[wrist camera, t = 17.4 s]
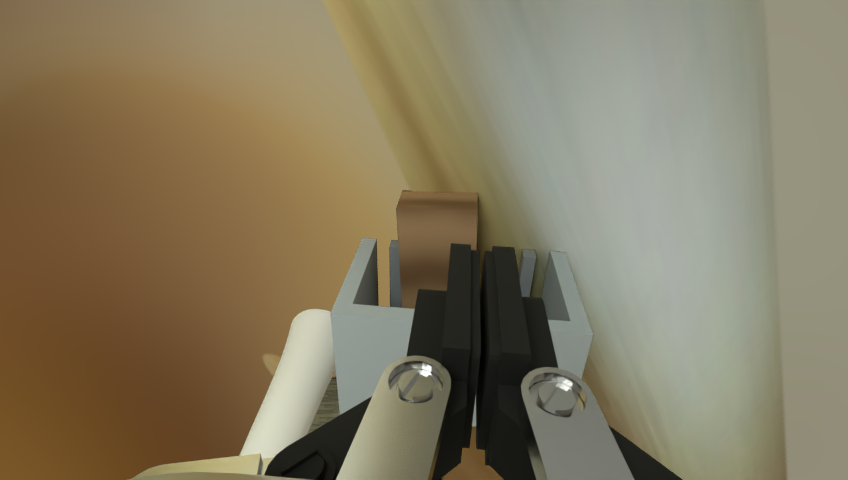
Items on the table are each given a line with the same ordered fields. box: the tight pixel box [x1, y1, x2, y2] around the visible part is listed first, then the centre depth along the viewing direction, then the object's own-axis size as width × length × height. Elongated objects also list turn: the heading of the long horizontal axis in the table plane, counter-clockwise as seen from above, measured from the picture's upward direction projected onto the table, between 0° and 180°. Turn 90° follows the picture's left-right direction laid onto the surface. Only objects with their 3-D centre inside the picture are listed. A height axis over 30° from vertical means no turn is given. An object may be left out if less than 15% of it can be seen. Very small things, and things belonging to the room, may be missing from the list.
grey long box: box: [330, 238, 593, 426], centre depth 36 cm, size 10×17×10 cm, turn 88°
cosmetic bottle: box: [240, 309, 336, 459], centre depth 35 cm, size 6×6×22 cm
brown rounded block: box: [396, 190, 478, 309], centre depth 38 cm, size 11×6×4 cm, turn 1°
